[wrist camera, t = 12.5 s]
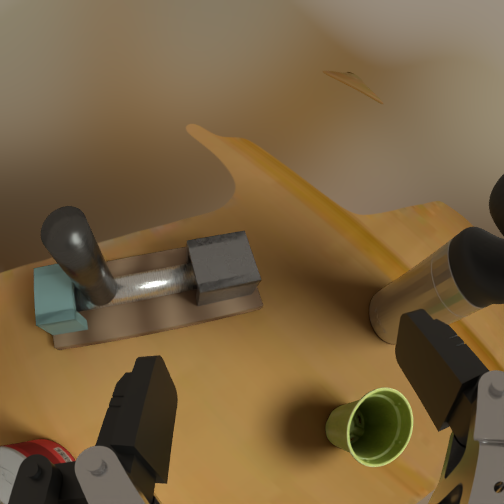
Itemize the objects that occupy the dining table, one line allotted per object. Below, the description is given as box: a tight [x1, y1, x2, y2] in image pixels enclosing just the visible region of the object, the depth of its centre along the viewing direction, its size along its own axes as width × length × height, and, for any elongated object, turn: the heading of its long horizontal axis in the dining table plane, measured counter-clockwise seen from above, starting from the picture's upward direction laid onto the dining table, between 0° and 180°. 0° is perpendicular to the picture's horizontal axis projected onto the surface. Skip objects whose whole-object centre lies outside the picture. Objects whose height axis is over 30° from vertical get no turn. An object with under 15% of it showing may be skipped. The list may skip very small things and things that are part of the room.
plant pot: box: [325, 388, 413, 467], centre depth 30 cm, size 9×9×9 cm
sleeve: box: [186, 231, 261, 306], centre depth 36 cm, size 7×6×5 cm
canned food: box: [0, 439, 75, 504], centre depth 18 cm, size 8×8×11 cm
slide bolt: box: [41, 206, 197, 312], centre depth 27 cm, size 20×4×16 cm, turn 108°
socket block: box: [34, 264, 88, 335], centre depth 30 cm, size 5×7×5 cm
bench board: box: [53, 247, 263, 350], centre depth 36 cm, size 27×10×2 cm, turn 108°
